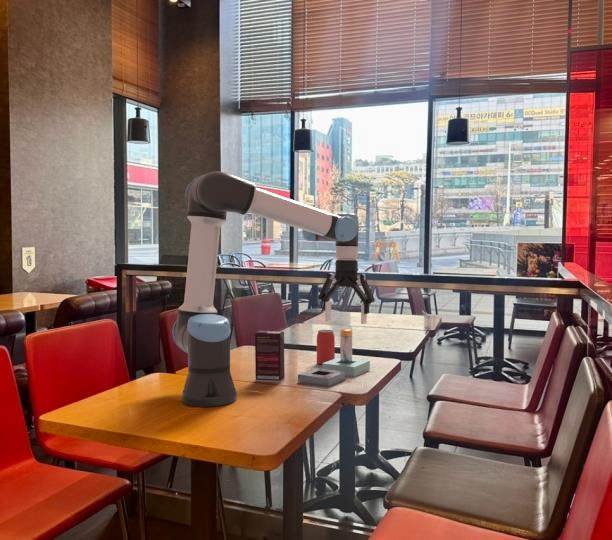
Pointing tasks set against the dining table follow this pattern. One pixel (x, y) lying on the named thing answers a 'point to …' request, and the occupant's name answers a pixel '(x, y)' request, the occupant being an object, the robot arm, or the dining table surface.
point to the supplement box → (269, 356)
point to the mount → (321, 377)
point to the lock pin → (346, 346)
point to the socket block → (348, 366)
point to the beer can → (325, 346)
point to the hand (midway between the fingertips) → (345, 322)
